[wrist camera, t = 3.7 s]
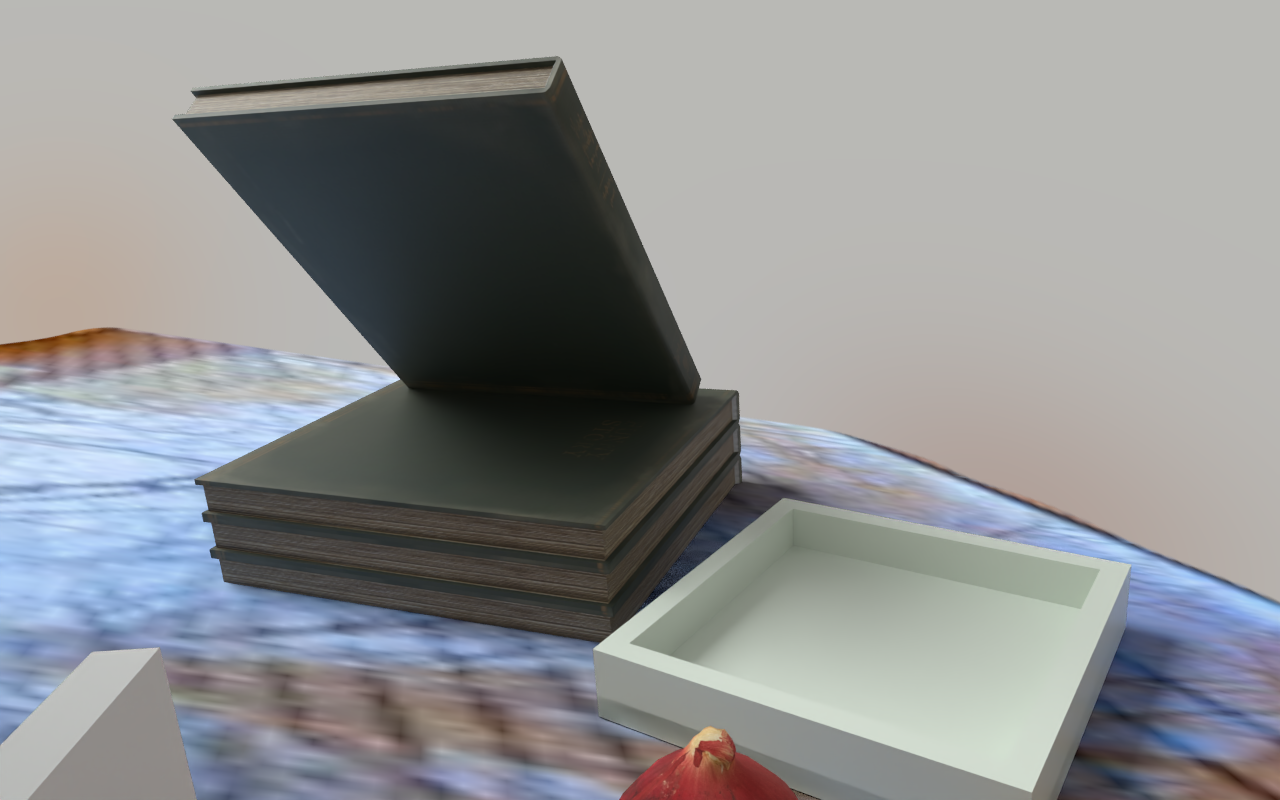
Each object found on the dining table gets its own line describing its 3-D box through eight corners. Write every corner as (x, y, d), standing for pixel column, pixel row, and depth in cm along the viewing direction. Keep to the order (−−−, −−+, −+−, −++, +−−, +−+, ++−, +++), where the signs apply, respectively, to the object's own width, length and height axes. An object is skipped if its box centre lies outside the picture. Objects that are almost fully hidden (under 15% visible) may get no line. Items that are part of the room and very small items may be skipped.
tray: (1026, 876, 29) (1032, 792, 28) (598, 716, 38) (592, 649, 37) (1125, 628, 42) (1131, 564, 41) (784, 551, 51) (783, 497, 50)
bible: (743, 486, 60) (727, 54, 53) (615, 656, 43) (564, 51, 36) (427, 457, 69) (375, 83, 61) (216, 588, 52) (108, 92, 44)
